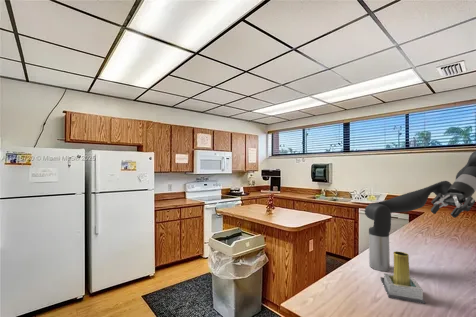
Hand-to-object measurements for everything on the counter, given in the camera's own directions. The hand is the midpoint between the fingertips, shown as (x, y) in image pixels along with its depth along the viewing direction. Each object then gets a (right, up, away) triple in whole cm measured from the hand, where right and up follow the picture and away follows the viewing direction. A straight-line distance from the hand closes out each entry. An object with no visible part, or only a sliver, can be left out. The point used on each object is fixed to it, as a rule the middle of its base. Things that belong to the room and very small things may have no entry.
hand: (442, 214), depth 101 cm
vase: (-19, -31, -2) cm, 36 cm away
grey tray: (-18, -33, 0) cm, 37 cm away
